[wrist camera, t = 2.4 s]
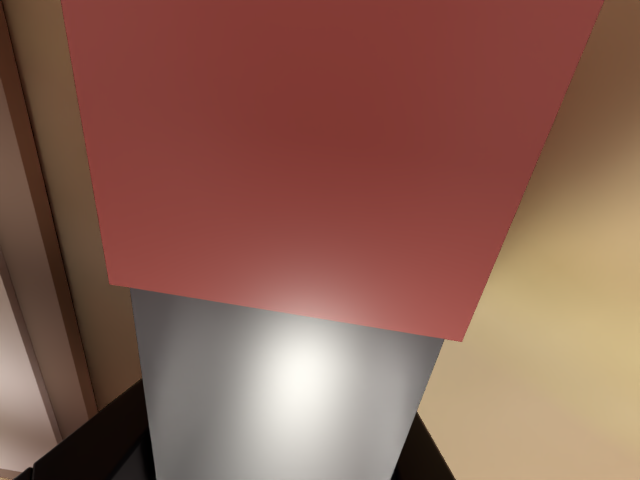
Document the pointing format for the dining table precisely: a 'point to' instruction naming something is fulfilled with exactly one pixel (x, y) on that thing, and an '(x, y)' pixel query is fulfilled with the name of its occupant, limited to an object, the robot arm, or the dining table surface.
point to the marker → (308, 206)
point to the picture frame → (32, 299)
